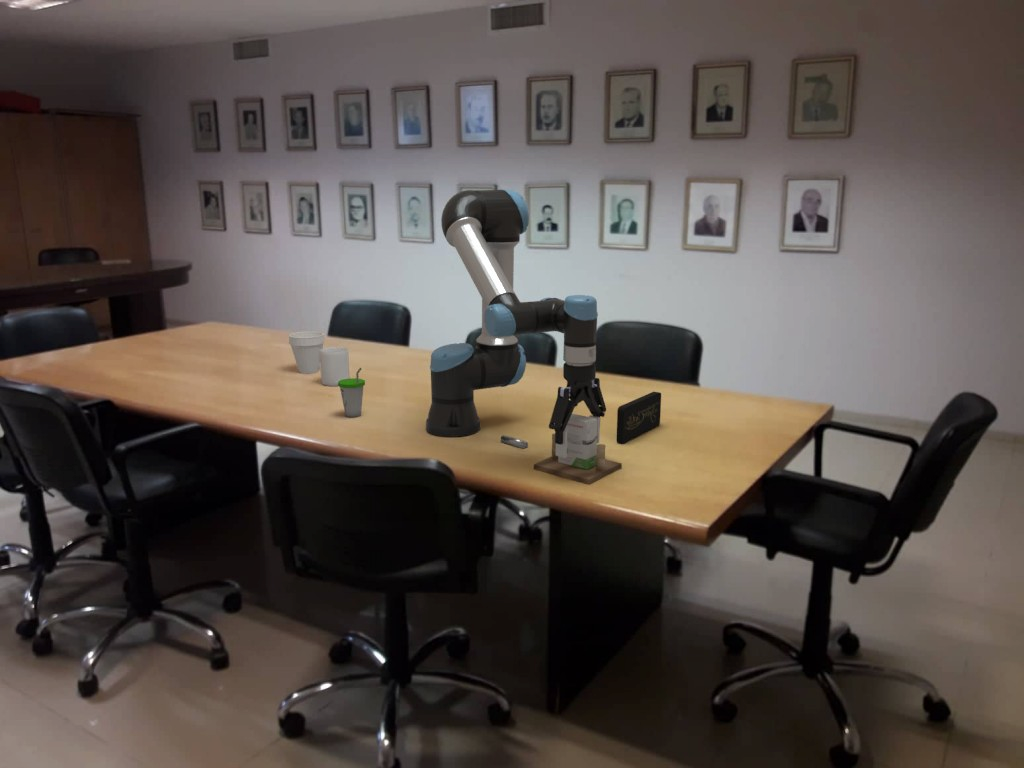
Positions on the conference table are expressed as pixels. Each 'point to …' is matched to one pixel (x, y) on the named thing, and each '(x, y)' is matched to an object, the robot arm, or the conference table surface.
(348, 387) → the cup
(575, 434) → the ink box
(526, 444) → the pin
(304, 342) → the white flower pot
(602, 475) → the rack
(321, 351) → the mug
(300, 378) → the conference table surface
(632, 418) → the nameplate
